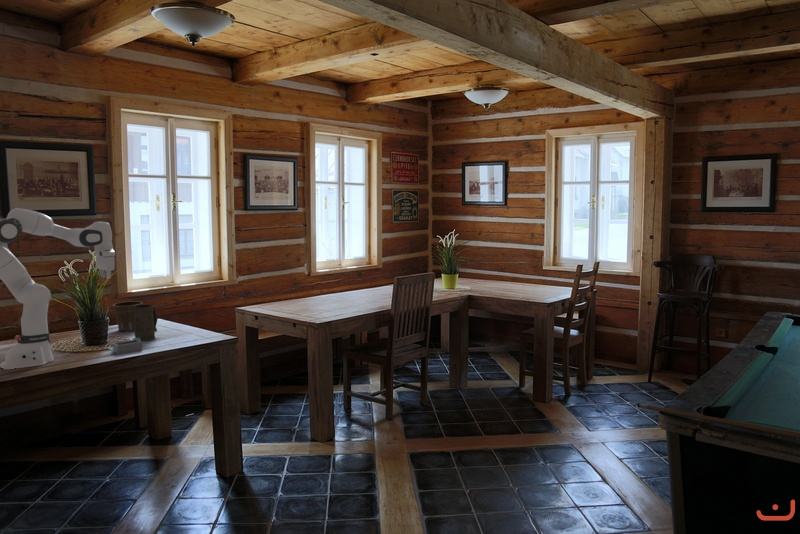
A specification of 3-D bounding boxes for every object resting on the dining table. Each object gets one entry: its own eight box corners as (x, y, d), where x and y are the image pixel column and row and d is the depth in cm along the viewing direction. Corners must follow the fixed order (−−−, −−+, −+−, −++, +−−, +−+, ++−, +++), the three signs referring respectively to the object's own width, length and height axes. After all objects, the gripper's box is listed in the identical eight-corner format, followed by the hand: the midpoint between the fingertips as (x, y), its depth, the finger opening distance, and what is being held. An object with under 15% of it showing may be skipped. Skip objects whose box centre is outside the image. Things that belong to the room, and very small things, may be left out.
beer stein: (147, 342, 340) (146, 306, 340) (129, 342, 343) (129, 306, 342) (163, 338, 355) (162, 303, 355) (146, 338, 358) (145, 303, 357)
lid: (111, 352, 321) (111, 343, 321) (107, 349, 327) (106, 341, 327) (142, 347, 331) (142, 339, 331) (137, 344, 337) (137, 336, 337)
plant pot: (119, 333, 365) (118, 306, 364) (110, 329, 377) (108, 303, 375) (147, 329, 376) (146, 303, 374) (138, 325, 388) (136, 300, 386)
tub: (118, 355, 314) (117, 345, 313) (113, 352, 320) (112, 343, 319) (142, 351, 322) (141, 341, 321) (137, 348, 328) (136, 339, 327)
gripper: (91, 251, 333) (93, 277, 335) (103, 253, 318) (105, 280, 319) (104, 250, 337) (106, 275, 339) (116, 252, 322) (118, 279, 323)
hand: (105, 278), depth 329 cm, fingers open, 8 cm apart
